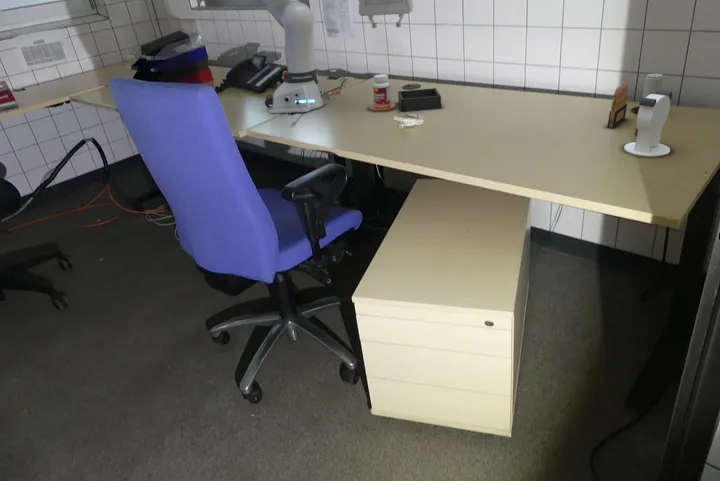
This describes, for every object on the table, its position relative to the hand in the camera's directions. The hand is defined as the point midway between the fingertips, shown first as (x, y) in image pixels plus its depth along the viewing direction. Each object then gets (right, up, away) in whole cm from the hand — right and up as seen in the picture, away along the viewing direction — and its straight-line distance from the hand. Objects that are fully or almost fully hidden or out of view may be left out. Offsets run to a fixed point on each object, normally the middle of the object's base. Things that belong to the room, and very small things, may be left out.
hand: (386, 27), depth 207 cm
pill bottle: (-1, -29, +2) cm, 29 cm away
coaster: (-1, -30, +2) cm, 30 cm away
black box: (+13, -29, +1) cm, 32 cm away
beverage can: (+84, -39, -28) cm, 97 cm away
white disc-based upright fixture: (+69, -56, -56) cm, 105 cm away
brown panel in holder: (+71, -44, -35) cm, 90 cm away
